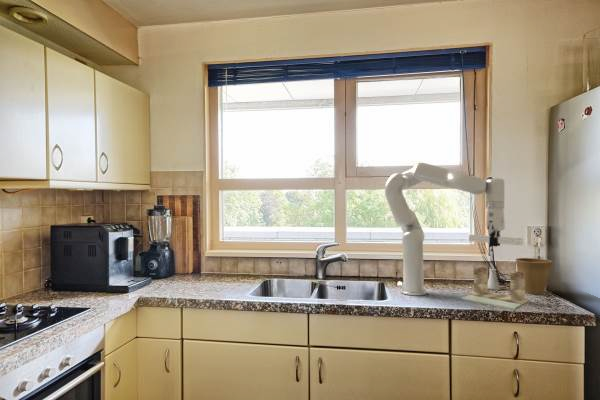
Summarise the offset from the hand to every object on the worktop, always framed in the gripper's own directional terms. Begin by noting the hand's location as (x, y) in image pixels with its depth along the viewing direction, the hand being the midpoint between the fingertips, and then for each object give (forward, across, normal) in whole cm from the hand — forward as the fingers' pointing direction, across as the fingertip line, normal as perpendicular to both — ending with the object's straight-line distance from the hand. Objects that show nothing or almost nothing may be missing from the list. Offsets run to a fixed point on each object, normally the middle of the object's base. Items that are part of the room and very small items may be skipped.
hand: (494, 245), depth 170 cm
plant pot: (+25, +26, -9) cm, 37 cm away
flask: (+25, +22, +8) cm, 34 cm away
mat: (+25, -6, 0) cm, 26 cm away
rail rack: (+25, +4, -1) cm, 25 cm away
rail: (-1, 0, 0) cm, 1 cm away
